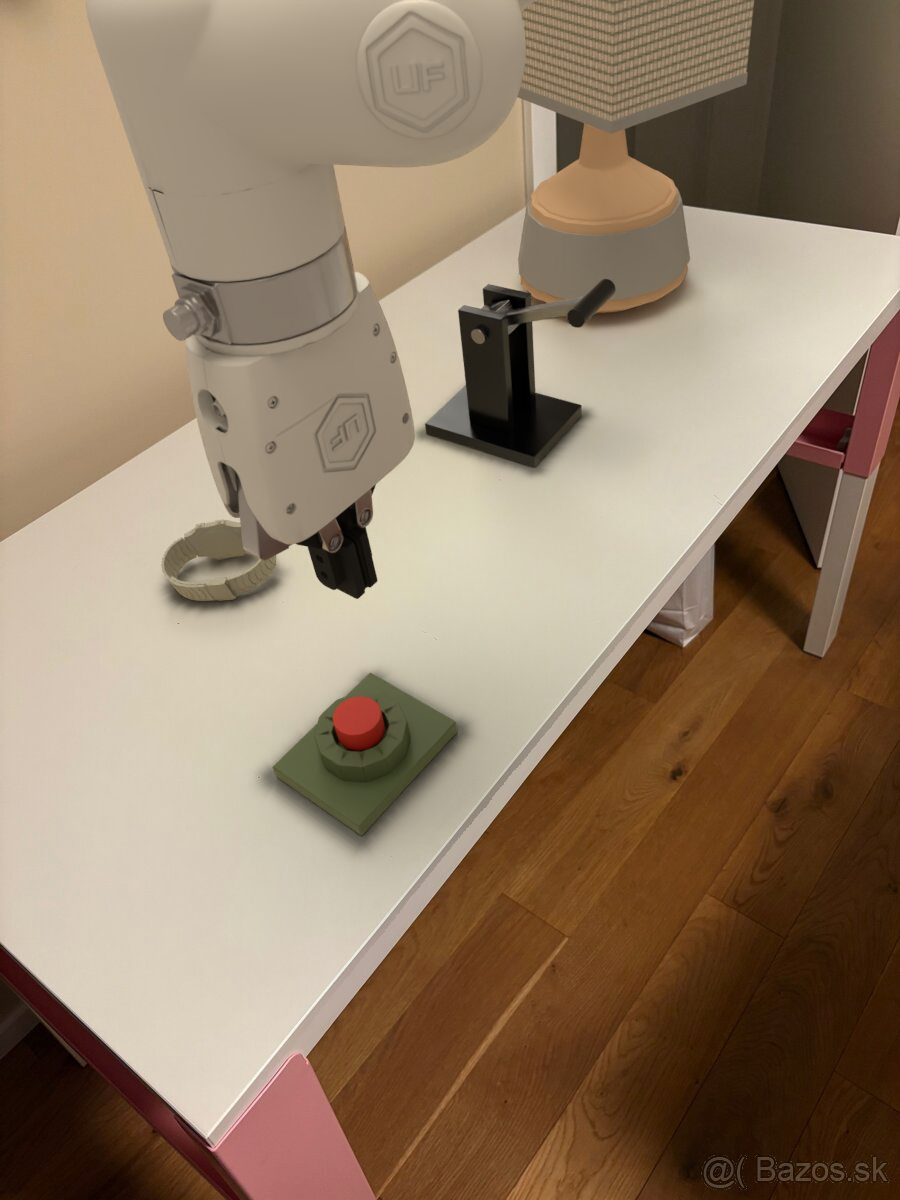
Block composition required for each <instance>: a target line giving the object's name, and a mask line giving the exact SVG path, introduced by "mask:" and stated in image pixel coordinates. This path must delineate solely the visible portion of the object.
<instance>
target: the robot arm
mask: <svg viewBox="0 0 900 1200" xmlns="http://www.w3.org/2000/svg"><path fill="white" fill-rule="evenodd" d="M534 1H536V0H85V8H86V9H85V10H86V17H87V21H88V23H89V27H90V31H91V34H92V37H93V42H94V44H95V47H96V50H97V53H98V56H99V58H100V61H101V65H102V67H103V71H104V74H105V77H106V80H107V82H108V85H109V88H110V91H111V94H112V97H113V99H114V102H115V106H116V109H117V112H118V114H119V118H120V120H121V124H122V127H123V128H124V132H125V136H126V138H127V142H128V144H129V148H130V150H131V153H132V156H133V158H134V162H135V165H136V167H137V170H138V174H139V176H140V179H141V183H142V185H143V188H144V191H145V193H146V196H147V199H148V202H149V205H150V208H151V211H152V214H153V216H154V219H155V222H156V226H157V228H158V231H159V234H160V237H161V240H162V242H163V245H164V248H165V252H166V253H167V257H168V259H169V263H170V267H171V270H172V274H171V278H172V282H173V285H174V287H175V291H176V293H177V296H178V299H176V301H174V305H173V306H171V307H170V308H168V309H166V310H165V311H163V313H162V320H163V323H164V326H165V327H166V329H167V331H168V332H169V333H170V334H171V336H172V337H173V338H175V339H176V340H177V341H180V342H185V343H184V344H185V353H186V354H185V355H186V364H187V365H186V366H187V372H188V373H187V374H188V378H189V379H188V380H189V386H190V392H191V397H192V398H191V399H192V401H193V408H194V413H195V417H196V421H197V426H198V430H199V434H200V438H201V441H202V445H203V449H204V452H205V456H206V460H207V462H208V465H209V469H210V471H211V475H212V479H213V481H214V484H215V487H216V490H217V492H218V494H219V497H220V499H221V502H222V503H223V506H224V508H225V510H226V512H227V513H228V514H229V516H231V517H232V518H235V519H239V521H240V522H239V523H240V524H241V533H242V543H243V549H244V550H245V551H246V552H245V553H248V554H250V555H251V556H254V557H255V558H258V560H259V559H261V560H267V559H269V558H271V557H273V556H275V555H276V556H278V555H279V554H280V553H283V552H285V551H287V550H288V549H290V546H292V545H298V546H301V547H302V546H303V547H307V549H308V550H307V551H308V553H309V557H310V560H311V563H312V566H313V570H314V573H315V576H316V578H317V580H318V581H319V582H320V583H321V584H322V585H323V586H324V587H325V588H328V589H330V590H332V591H336V590H337V591H340V592H341V593H344V594H345V595H347V596H350V597H351V598H354V599H355V600H358V599H360V598H361V597H362V596H363V595H364V594H366V589H368V588H372V587H373V586H374V585H375V584H377V582H378V576H377V572H376V567H375V562H374V559H373V552H372V548H371V543H370V538H369V535H368V531H367V527H368V526H369V525H370V524H371V522H372V520H373V518H374V507H373V506H374V505H373V493H374V491H375V489H376V486H377V484H378V483H379V482H380V481H381V480H383V479H384V478H385V477H387V476H388V475H389V474H390V473H391V472H392V471H393V470H395V468H397V467H398V466H399V465H400V464H401V463H402V462H403V461H404V460H405V459H406V458H407V457H408V455H409V454H410V452H411V451H412V449H413V446H414V444H415V438H416V433H415V432H416V431H415V423H414V417H413V412H412V407H411V402H410V397H409V393H408V388H407V384H406V381H405V376H404V372H403V368H402V364H401V360H400V357H399V353H398V351H397V348H396V344H395V340H394V338H393V335H392V332H391V329H390V326H389V323H388V319H387V318H386V315H385V312H384V310H383V308H382V306H381V304H380V301H379V299H378V297H377V295H376V293H375V290H374V289H373V287H372V285H371V283H370V280H369V279H368V277H367V276H366V275H365V274H363V273H361V272H359V271H356V270H355V267H354V261H353V257H352V252H351V246H350V241H349V237H348V231H347V226H346V222H345V217H344V211H343V206H342V202H341V196H340V191H339V186H338V181H337V176H336V171H335V170H336V169H335V165H337V166H355V167H372V168H373V167H376V168H420V167H430V166H435V165H439V164H443V163H447V162H451V161H454V160H457V159H459V158H462V157H464V156H465V155H468V154H469V153H471V152H473V151H474V150H476V149H477V148H479V147H481V146H482V145H484V144H485V143H486V142H487V141H488V140H489V139H490V138H492V136H493V135H495V134H496V133H497V131H499V129H500V127H502V125H503V124H504V122H505V121H506V119H507V118H508V117H509V115H510V113H511V111H512V110H513V108H514V106H515V104H516V101H517V98H518V97H517V96H518V94H519V91H520V88H521V84H522V79H523V75H524V69H525V60H526V41H525V32H524V24H523V19H522V14H521V11H523V10H524V9H525V8H527V7H528V6H529V5H531V4H532V3H533V2H534Z"/></svg>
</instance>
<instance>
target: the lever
mask: <svg viewBox="0 0 900 1200" xmlns="http://www.w3.org/2000/svg"><path fill="white" fill-rule="evenodd" d="M615 290H616V288H615V285H614V283H613V282H612V281H611V280H609V279H602V280H601V281H600V282H599V283H598V284H597V285H596V286H595V287H594V288H593V289H592V290H590V291H589V292H588V293H587V294H586V295H585V296H582V297H577V298H572V299H566V300H561V301H556V302H550V303H547V302H545V303H541V304H540V303H539V304H535V305H532V306H529V307H524V308H519V309H513V307H512V305H511V302H510V300H506V301H501V302H496V303H491V304H486V305H485V306H484V305H483V306H482V307H481V308H480V309H483V310H488V311H492V312H496V313H501V314H505V315H507V323H508V335H509V334H510V333H511V332H512V331H513V330H514V329H515V328H516V327H517V326H519V324H522V323H527V322H532V323H534V322H538V321H543V320H544V321H545V320H549V319H556V318H561V317H566V320H567V322H568V324H569V325H570V326H571V327H573V328H575V329H576V328H578V329H579V328H582V327H583V326H584V325H585V324H586V323H587V322H588V321H589V320H590V319H591V318H592V317H593V316H594V315H595V313H596V312H597V311H598V310H599V309H600V308H601V307H602V306H603V305H604V304H605V303H606V302H607V301H608V300H609V299H610V298H611V297H612V296H613V295H614V294H615Z"/></svg>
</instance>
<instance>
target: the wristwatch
mask: <svg viewBox="0 0 900 1200" xmlns="http://www.w3.org/2000/svg"><path fill="white" fill-rule="evenodd" d="M246 553H247V552H246V551H245V550H244V549H243V543H242V533H241V524H240V522H238V521H233V520H229V519H217V520H214V521H210V522H202V523H196V524H195V527H193V528H192V529H191V530H189V531H187V532H185V533H184V534H183V537H178V538H177V539H176V540H174V541H173V542H172V543H171V544H170V545H169V546H168V547H167V549H166V550H165V551H164V554H163V555H162V558H161V564H160V565H161V566H160V567H161V571H162V574H163V576H164V577H165V578H166V579H167V581H168V582H169V583H170V584H171V585H172V587H173V588H174V589H175V590H176V591H177V593H178V594H179V595H181V596H182V597H184V598H186V599H189V600H192V601H196V602H213V601H219V602H220V601H233V600H235V599H236V598H237V597H238V595H239V594H244V593H245V592H249V591H251V590H254V589H256V588H257V587H259V586H260V585H262V584H263V583H264V582H266V581H267V580H268V579H269V577H271V575H272V574H273V572H274V570H275V569H276V566H277V561H278V560H277V555H275V556H273V557H271V558H269V559H267V560H261V559H259V558H258V560H257V561H256V562H255V563H254V564H253V565H252V566H251V567H249V568H248V569H246V570H244V571H243V572H241V573H238V574H236V575H234V576H229V577H227V576H226V577H218V578H211V579H206V580H205V581H195V582H193V581H184V580H180V579H178V574H179V573H180V571H181V569H182V568H183V567H184V566H185V565H186V564H188V563H189V562H190V561H192V560H194V559H196V558H197V557H198V558H211V559H216V560H218V561H219V560H226V559H228V558H233V557H242V556H245V555H246Z"/></svg>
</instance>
